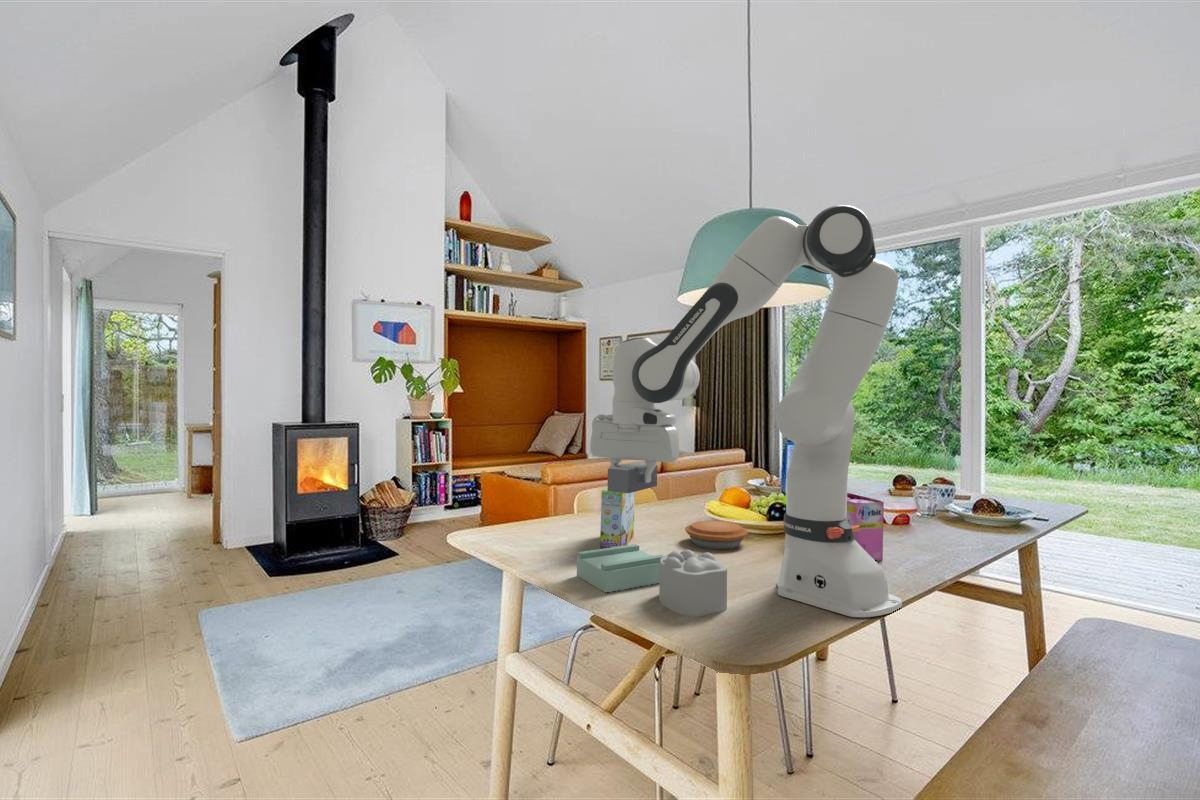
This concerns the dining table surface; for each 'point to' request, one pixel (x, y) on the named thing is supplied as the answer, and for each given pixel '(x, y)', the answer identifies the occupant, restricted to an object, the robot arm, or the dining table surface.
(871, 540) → the gum box
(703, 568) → the grey lumpy block
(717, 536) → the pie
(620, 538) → the snack box
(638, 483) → the block
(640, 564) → the stand
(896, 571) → the dining table surface
